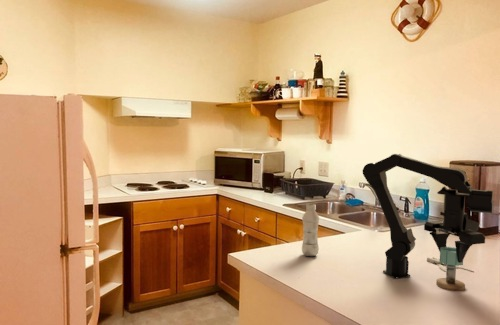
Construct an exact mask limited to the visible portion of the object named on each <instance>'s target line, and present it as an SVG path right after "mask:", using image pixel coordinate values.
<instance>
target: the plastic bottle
mask: <svg viewBox="0 0 500 325" xmlns="http://www.w3.org/2000/svg"><path fill="white" fill-rule="evenodd" d="M305 206H306V208H305V210H306V211H305V212H304V214H303V215H302V219H301V220H302V228H303V235H302V236H303V238H302V244H301V252H302V254H303V255H304V256H307V257H315V256H318V254H319V249H320V248H319V242H318V229H319V224H320V217H319V214H318V213H317V211H316V210H317V207H316V206H317V205H316V204H314V203H306V205H305Z"/></svg>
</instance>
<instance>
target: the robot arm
mask: <svg viewBox="0 0 500 325" xmlns="http://www.w3.org/2000/svg"><path fill="white" fill-rule="evenodd" d="M396 167H398V168H400V169H405V170H407V171H411V172H414V173H417V174H419V175H422V176H425V177H428V178H431V179H433V180H435V181H437V182H438V183H440V184H442V185H444V186H442V188H441V189H440V190H437V193H436V194H438V195H444V196H443V197H444V198H443V211H440V213H439V214H440V216H442V218H443V219H442V221H440V220H431V221H429V220H428V221H425V223H423V224H424V226H423V230H424V231H426V232H429V235H430V236H431V237H432V239H433V241H434V243H435V245H436V246H437V249H438V251H439V252H440V248H441V247H447V243H448V238H449V236H450V235H452V236H455V237H458V240H455V241H454V245H455V246H454V247H455V248H456V253H457V259H458V262H459V263H461V262H462V261H463V262H464V259H465V258H466V255H467V253H468V251H469V249H470V248H471V247H472V246H473V245H481V244H485V243H486V236H485V234H483V233H482V232H479V231H478V230H479V227H480V225H481V224H480V222H477V221H475V220H472V219H470V218H469V215H468V213H467V212H466V213H465V206H466V208H468V210H470V212H473V213H474V212H475V213H484V214H491V215H493V212H494V190H490V189H488V190H487V189H486V190H483V189H480V190H479V189H474V187H472V185H471V184H470V182H469V181H468V176H467V174H466V172H465V171H464V170H463V169H460V168H455V167H446V166H438V165H435V164H430V163H427V162H425V161H421V160H418V159H415V158H412V157H409V156H405V155H402V154H401V153H392V154H391V155H390V156H388V157H386V158H383V159H381V160H379V161H376V162H370V163H366V164H364V167H363V169H362V175H363V176H364V178H365V180H366V182H367V183H368V184H369V185H370V187H371V188H372V189H373V190H374V192H375V195H376V198H377V200H378V203H379V205H380V208H381V210H382V213H383V215H384V217H385V219H386V222H387V225H388V228H389V230H390V232H389V233H390V241H391V243H390V244H391V247H389V248H388V249H387V250H385V251H384V252H385V253H384V254H385V257H386V258H385V259H386V260H385V261H386V262H385V269H383V270H382V273H384V274H386V275H388V276H390V277H391V278H393V279H401V278H402V279H403V278H410V277H412V276H411V274H409V261H410V260H409V257H408V254H409V253H410V252H412V250H414V249H415V247H416V240H417V238H416V237H415V236H414V233H413V230H412V228H411V227H410V228H407V227H406V226H405V225H404V224H403V222H402V218H401V217H400V214H399V212H398V209H397V207H396V204H395V201H394V200H393V197H392V195H391V194H392V193H391V192H390V190H389V187H388V179H387V172H388V171H390V170H392V169H394V168H396ZM458 191H459V192H458ZM465 201H466V202H465ZM465 204H466V205H465Z"/></svg>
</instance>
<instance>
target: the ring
mask: <svg viewBox="0 0 500 325" xmlns="http://www.w3.org/2000/svg"><path fill="white" fill-rule="evenodd" d="M439 259H440V262H442V263H444V264H447V265H454V266H455V265H456V266H463V265H464V260H463V261H462V262H461V263H459V262H458V259H457V253H456V246H454V247H453V246H446V247H441V248H440V251H439ZM444 264H443V265H444Z"/></svg>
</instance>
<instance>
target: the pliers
mask: <svg viewBox="0 0 500 325" xmlns="http://www.w3.org/2000/svg"><path fill="white" fill-rule="evenodd" d="M428 261H429V262H428ZM426 262H428V263H431V262H432V263H431V264H437V265H436V266H438V268H439V270H441V271H443V272H445V273H446V270H447V264H444V263H442V262H440V258H438V257H435V256H433V257H426ZM441 264H442V265H441ZM444 266H445V267H444ZM455 266H456V265H455ZM456 269H462V270H466V271H468V272H470V273H471V272H472V273H474V272H475V271H474V270H473V269H471V268H468V267H465V266H462V265H459V266H456Z"/></svg>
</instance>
